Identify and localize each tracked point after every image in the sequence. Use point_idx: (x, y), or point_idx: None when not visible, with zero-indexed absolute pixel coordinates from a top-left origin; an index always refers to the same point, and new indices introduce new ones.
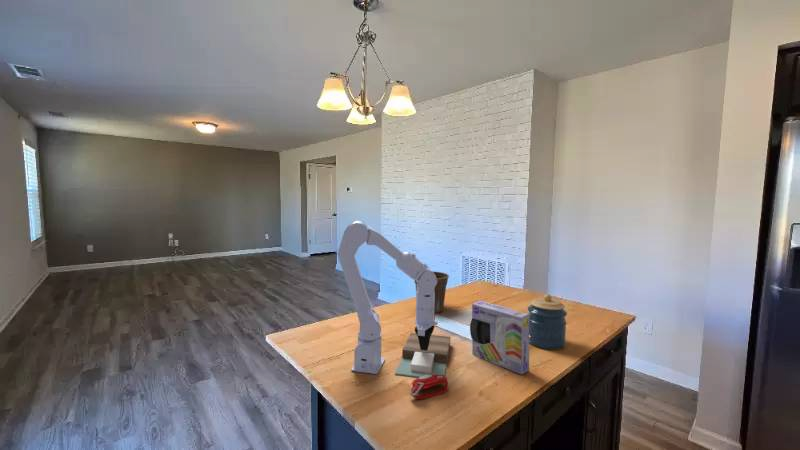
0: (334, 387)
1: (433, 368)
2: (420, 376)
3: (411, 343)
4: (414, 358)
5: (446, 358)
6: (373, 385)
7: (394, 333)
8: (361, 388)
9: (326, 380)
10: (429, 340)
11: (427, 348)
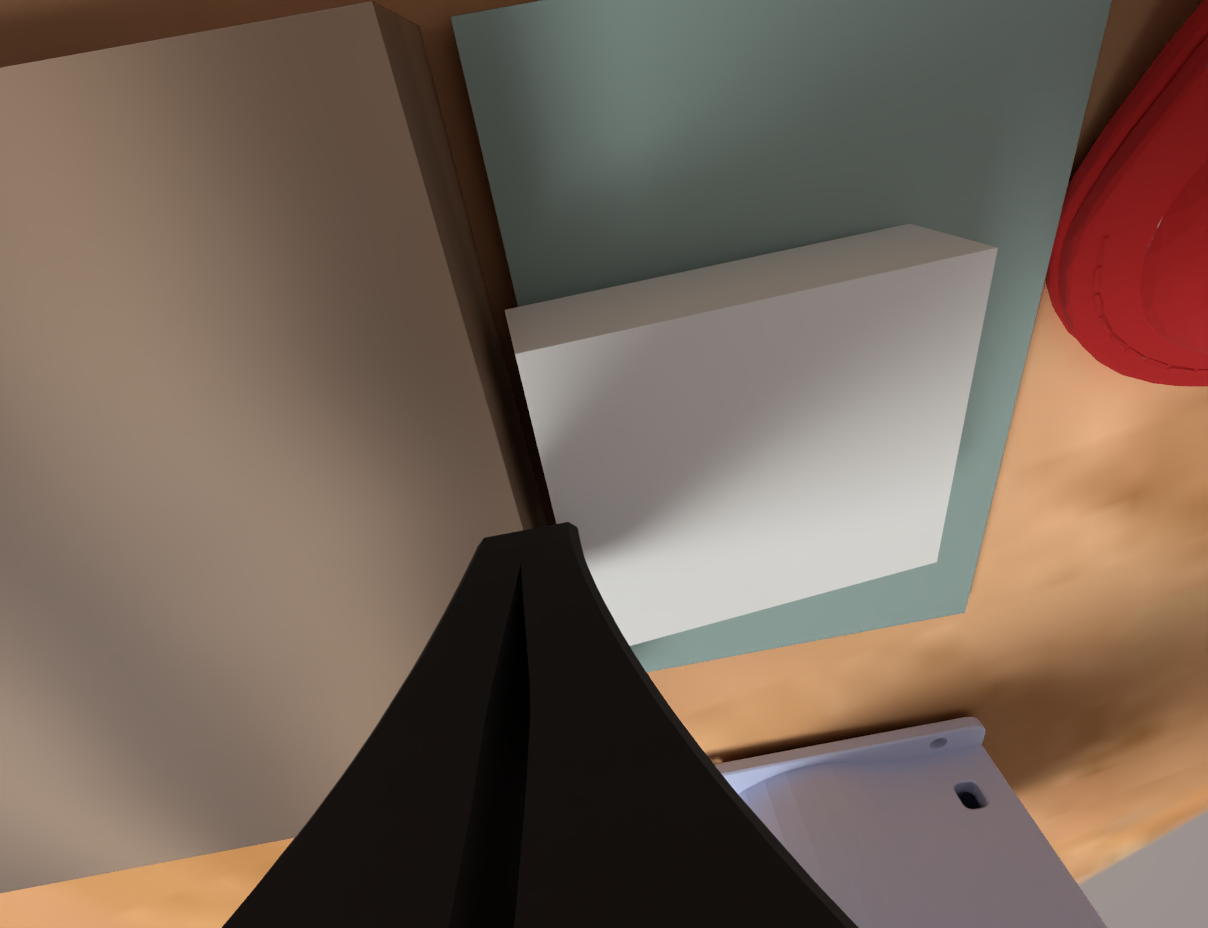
0: (1160, 808)
1: (746, 230)
2: (1204, 324)
3: (325, 777)
4: (785, 583)
5: (395, 19)
6: (1158, 658)
7: (41, 922)
8: (1196, 700)
9: (1068, 864)
10: (491, 684)
11: (580, 547)
